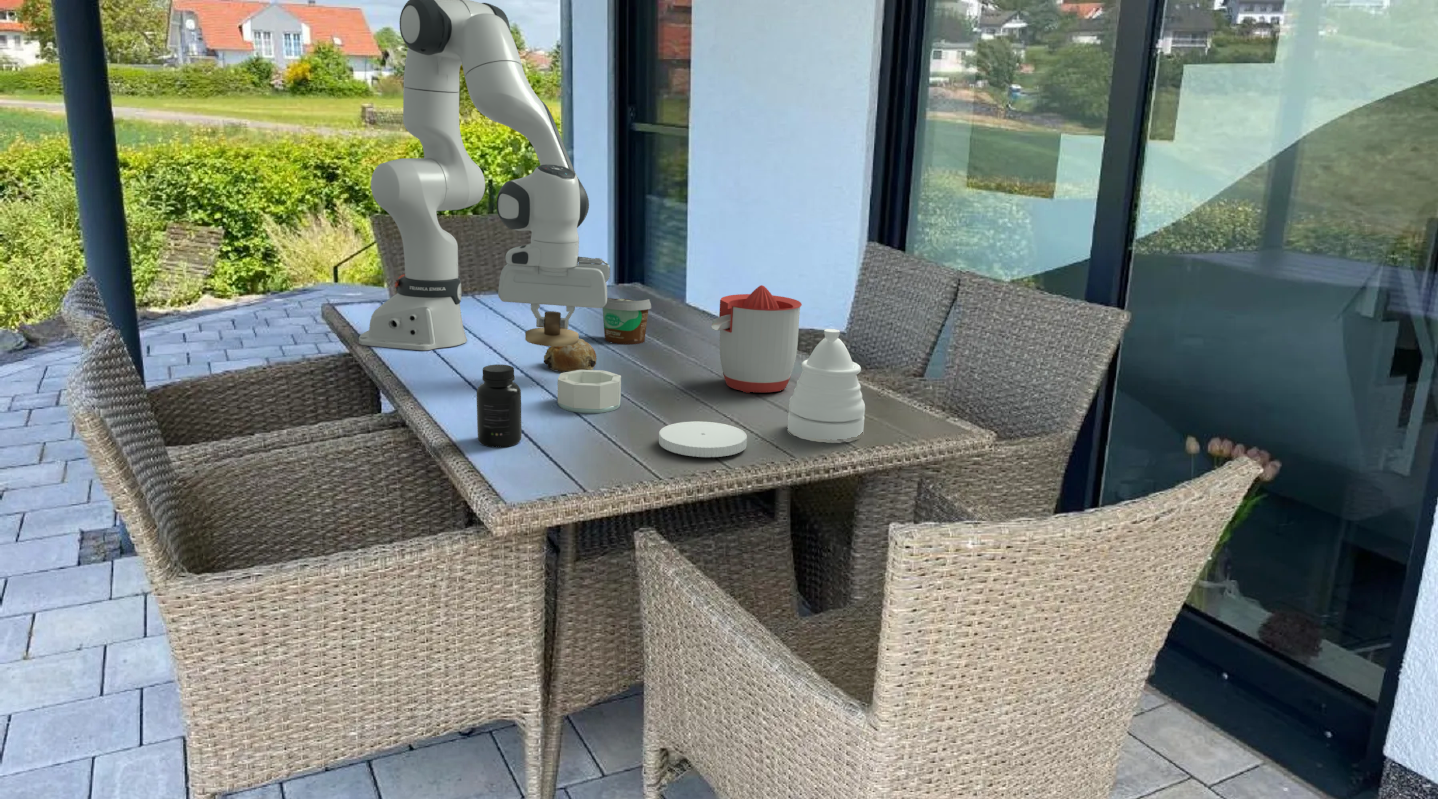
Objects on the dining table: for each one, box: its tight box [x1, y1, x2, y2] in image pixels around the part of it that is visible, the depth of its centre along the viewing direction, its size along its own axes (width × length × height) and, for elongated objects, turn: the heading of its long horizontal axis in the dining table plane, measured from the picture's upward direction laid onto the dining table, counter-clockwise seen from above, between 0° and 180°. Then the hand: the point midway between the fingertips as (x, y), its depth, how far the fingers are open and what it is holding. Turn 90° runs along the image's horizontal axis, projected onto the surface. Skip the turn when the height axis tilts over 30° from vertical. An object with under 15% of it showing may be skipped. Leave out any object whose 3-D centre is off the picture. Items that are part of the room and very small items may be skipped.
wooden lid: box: [524, 310, 580, 347], centre depth 204 cm, size 10×10×5 cm
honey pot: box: [787, 328, 866, 440], centre depth 181 cm, size 13×13×18 cm
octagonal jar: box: [557, 369, 622, 414], centre depth 192 cm, size 11×11×5 cm
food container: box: [602, 297, 652, 345], centre depth 241 cm, size 12×6×10 cm, turn 68°
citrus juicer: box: [710, 285, 803, 394], centre depth 207 cm, size 16×17×20 cm
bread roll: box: [543, 338, 598, 373], centre depth 218 cm, size 10×10×8 cm
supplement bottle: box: [476, 364, 522, 448], centre depth 168 cm, size 7×7×12 cm
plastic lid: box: [658, 420, 748, 458], centre depth 172 cm, size 14×14×2 cm
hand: (552, 327), depth 204 cm, fingers closed on wooden lid, 3 cm apart
